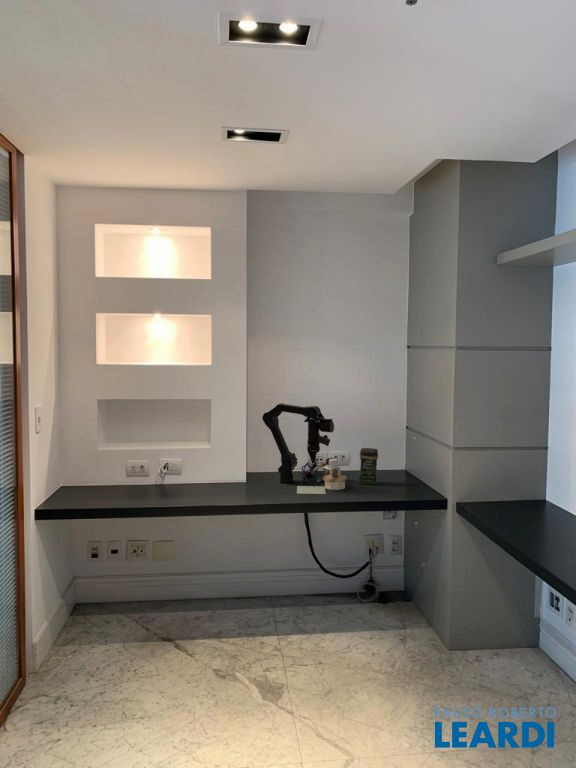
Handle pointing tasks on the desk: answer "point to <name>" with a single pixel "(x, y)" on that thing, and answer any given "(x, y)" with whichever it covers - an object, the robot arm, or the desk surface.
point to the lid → (334, 477)
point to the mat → (311, 490)
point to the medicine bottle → (331, 466)
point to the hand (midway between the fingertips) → (313, 461)
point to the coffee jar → (368, 466)
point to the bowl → (335, 485)
